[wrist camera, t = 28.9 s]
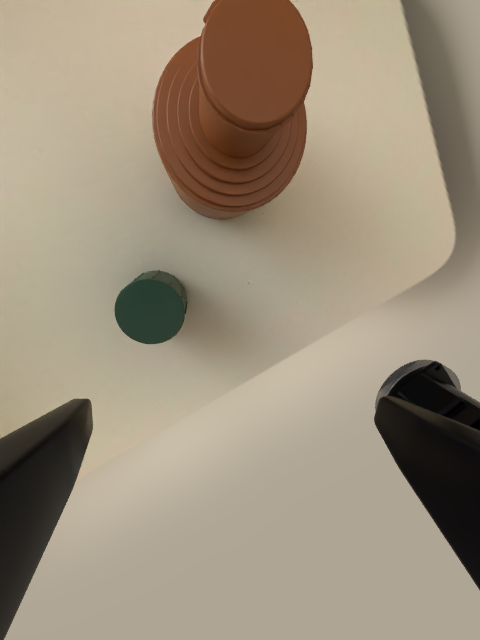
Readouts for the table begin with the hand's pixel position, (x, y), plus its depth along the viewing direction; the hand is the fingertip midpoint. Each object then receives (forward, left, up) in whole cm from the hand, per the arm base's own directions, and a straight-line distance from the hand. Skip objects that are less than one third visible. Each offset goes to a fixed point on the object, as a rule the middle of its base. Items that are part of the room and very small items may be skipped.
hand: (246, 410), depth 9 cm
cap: (+3, +3, -13) cm, 14 cm away
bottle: (+7, -6, -13) cm, 16 cm away
